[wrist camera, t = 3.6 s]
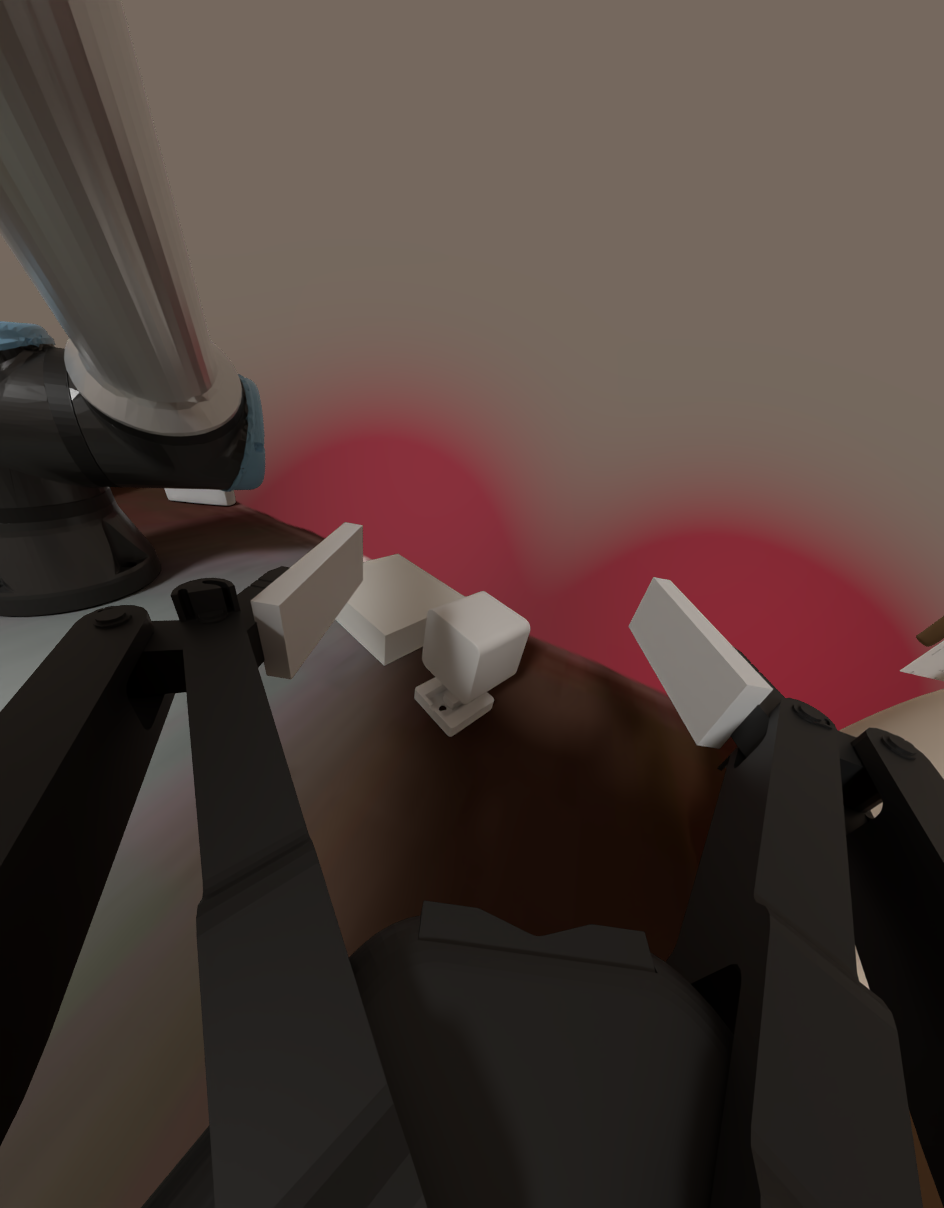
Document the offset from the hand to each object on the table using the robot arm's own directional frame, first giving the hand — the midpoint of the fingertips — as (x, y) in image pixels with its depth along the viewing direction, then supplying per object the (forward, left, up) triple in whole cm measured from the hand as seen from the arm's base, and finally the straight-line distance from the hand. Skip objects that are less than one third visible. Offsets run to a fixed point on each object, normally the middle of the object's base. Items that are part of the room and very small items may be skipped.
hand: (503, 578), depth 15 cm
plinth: (-21, +10, -18) cm, 29 cm away
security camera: (-6, +7, -19) cm, 21 cm away
